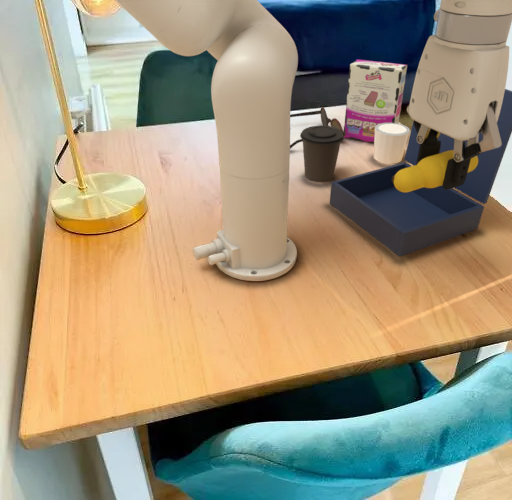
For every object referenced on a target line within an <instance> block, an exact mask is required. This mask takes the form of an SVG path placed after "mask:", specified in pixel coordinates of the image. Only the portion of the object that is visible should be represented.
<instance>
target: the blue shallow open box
mask: <svg viewBox="0 0 512 500" xmlns="http://www.w3.org/2000/svg"><path fill="white" fill-rule="evenodd" d="M411 166H412V164H410V163H408V162H407V161H404V162H399V163H395V164H391V165H389V166H385V167H382V168H377V169H374V170H371V171H367V172H363V173H360V174H356V175H352V176H348V177H344V178H341V179H338V180H334V181H331V182H330V183H331V184H330V195H329V205H331V206H332V207H333V208H335V209H336V210H338V212H340V213H342V215H344V216H345V217H347V218H348V219H349V220H351V221H352V222H353V223H354V224H356V225H357V226H359V227H360V228H361V229H362V230H363V231H365V232H366V233H368V234H369V235H370V236H371V237H372V238H374V239H375V240H376V241H378V242H379V243H380V244H382V245H384V246H385V247H386V248H387V249H389V250H390V251H391V252H393V253H394V254H395V255H396V256H397V257H399V258H401V257H404V256H406V255H410V254H412V253H415V252H418V251H420V250H423V249H426V248H429V247H431V246H435V245H436V244H440V243H443V242H445V241H448V240H451V239H454V238H456V237H460V236H461V235H464V234H467V233H470V232H473V231H475V230H478V229H479V225H480V222H481V219H482V215H483V212H484V208H485V205H484V204H482V203H480V202H478V201H477V200H475V199H473V198H471V197H469V196H468V195H466V194H464V193H462V192H461V191H459V190H457V189H455V188H452V189H448V190H446V189H444V188H443V186H442V185H441V186H438V187H435V188H425V187H423V188H420V189H417V190H414V191H411V192H401V191H399V190H397V189H396V187H395V186H394V183H393V182H392V177H393V176H394V175H395V174H396V173H397V172H398V171H399V170H402V169H404V168H408V167H411Z"/></svg>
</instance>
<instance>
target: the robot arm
mask: <svg viewBox="0 0 512 500" xmlns="http://www.w3.org/2000/svg"><path fill="white" fill-rule="evenodd" d="M114 1H115V2H116V3H117V4H118V5H119V6H120V7H121V8H122V9H124V10H125V12H127V14H129V15H130V16H131V17H132V18H133V19H135V21H137V22H138V23H139V24H140V25H141V26H142V27H143V28H144V29H145V30H146V31H148V32H149V33H150V34H151V35H152V36H153V37H154V38H155V39H156V40H157V41H158V42H159V43H160V44H161V45H163V47H165V48H166V49H167V50H168V51H170V52H172V53H174V54H176V55H178V56H182V57H194V56H198V55H200V54H202V53H204V52H206V51H207V52H208V54H210V55H211V56H212V57H213V58H214V59H215V60H216V61H217V62H216V64H215V66H214V69H213V73H212V77H211V85H210V94H211V104H212V110H213V116H214V121H215V127H216V128H215V129H216V136H217V137H216V139H217V147H218V148H217V150H218V167H219V182H220V184H219V185H220V199H221V201H220V202H221V218H222V229H220V230H218V231H216V238H215V239H212V240H211V242H210V243H207V244H201V245H197V246H194V247H192V248H191V249H192V254H193V257H194V259H195V260H196V261H199V260H200V261H201V260H202V259H206V258H207V262H208V265H209V266H213V265H216V267H217V268H218V269H219V270H220V271H221V272H222V273H224V274H225V275H227V276H228V277H231V278H233V279H237V280H241V281H247V282H264V281H268V280H273V279H276V278H279V277H281V276H283V275H285V274H287V273H288V272H289V271H290V270H292V268H293V267H294V266H295V264H296V262H297V257H298V249H297V246H296V244H295V243H294V242H293V240H292V239H291V238H289V237H288V221H289V216H288V215H289V193H290V166H291V165H290V160H291V149H290V145H291V117H290V115H291V108H292V107H291V105H292V94H293V86H294V83H295V78H296V75H297V70H298V65H299V54H298V49H297V46H296V43H295V41H294V39H293V38H292V36H291V34H290V33H289V32H288V31H287V29H286V28H285V27H284V26H283V25H282V24H281V23H280V22H279V21H278V20H277V19H276V18H275V17H274V16H273V15H272V13H270V11H268V10H267V8H266V7H264V6H263V5H262V3H260V1H258V0H114ZM433 19H434V22H436V27H435V32H434V34H432V35H430V36H429V37H428V38H427V40H426V43H425V46H424V48H423V51H422V54H421V57H420V60H419V61H418V66H417V69H416V72H415V77H414V82H413V86H412V90H411V95H410V100H409V104H408V105H407V107H406V113H407V115H408V116H409V118H410V119H411V121H412V122H413V121H414V127H415V129H416V131H417V134H418V135H417V142H418V143H419V144H420V147H419V152H418V157H417V163H416V165H417V164H418V163H419V162H420V161H421V160H422V159H424V158H426V157H429V156H432V155H436V154H439V152H440V147H441V141H439V140H437V139H438V138H439V136H440V133H442V134H445V135H447V136H449V137H451V138H454V153H453V158H452V159H449V160H448V163H447V168H446V172H445V177H444V181H443V185H442V186H443V188H444V189H446V190H448V189H455V187H458V186H461V185H463V184H464V181H465V180H466V176H467V172H468V168H469V165H470V161H471V158H474V157H476V156H477V155H479V154H481V153H482V152H484V151H488V150H491V149H495V148H498V147H500V146H501V144H502V142H501V138H500V134H499V130H498V126H497V121H498V118H499V114H500V110H501V106H502V102H503V97H504V92H505V89H506V85H507V80H508V71H509V64H510V63H509V62H510V46H509V45H507V41H508V38H509V33H510V30H511V26H512V0H440V3H439V9H436V11H435V12H434V14H433ZM479 133H481V134H482V135H483V140H482V141H481V142H478V140H479ZM465 140H467V147H466V148H465Z"/></svg>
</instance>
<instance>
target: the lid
mask: <svg viewBox="0 0 512 500" xmlns="http://www.w3.org/2000/svg"><path fill="white" fill-rule="evenodd" d="M497 126H498V130H499V134H500V138H501V142H502V144H501V146H500V147H498V148H495V149H491V150H488V151H484V152H482V153H481V154H479V155H477V157H478V165H477V167H476V168H475V169H474V170H473V171H471V172H468V173H467V176H466V180H465V181H464V184H463V185H461V186H458V187H455V188H454V190H456V191H458V192H460V193H462V194H463V195H465V196H467V197H469V198H471V199H472V200H474V201H476V202H478V203H480V204H482V205H485V204H487V203H488V200H489V197H490V194H491V192H492V189H493V186H494V183H495V181H496V178H497V175H498V172H499V170H500V166H501V164H502V161H503V158H504V156H505V152H506V149H507V147H508V144H509V141H510V139H511V135H512V90H510V89H507V88H505V92H504V97H503V102H502V106H501V110H500V114H499V118H498V121H497ZM417 135H418V134H417V131H416V129H415V127H414V121H412V126H411V129H410V132H409V137H408V141H407V145H406V146H407V147H406V149H405V154H404V159H403V161H404V162H406V163H407V164H409V165H411V166H414V165H416V163H417V157H418V152H419V147H420V144H419V143H418V142H417ZM437 140H439V141H441V147H440V152H439V153H442V152H446V151H450V150H454V138H451V137H449V136H447V135H445V134H442V133H440V136H439V138H438V139H437ZM482 140H483V135H482V134H481V133H479V140H478V142H481V141H482ZM466 147H467V140H465V148H466Z"/></svg>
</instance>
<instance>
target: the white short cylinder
mask: <svg viewBox="0 0 512 500" xmlns="http://www.w3.org/2000/svg"><path fill="white" fill-rule="evenodd" d="M410 133H411V129H410V128H409V127H408V126H406V125H405V124H401V123H399V124H398V123H381V124H378V125H376V127H375V138H374V143H373V159H374V160H376V161H377V162H380V163H382V164H389V165H396V164H400V163H401V162H402V160H403V157H404V155H405V154H404V153H405V151H406V146H407V144H408V140H409V137H410Z"/></svg>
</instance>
